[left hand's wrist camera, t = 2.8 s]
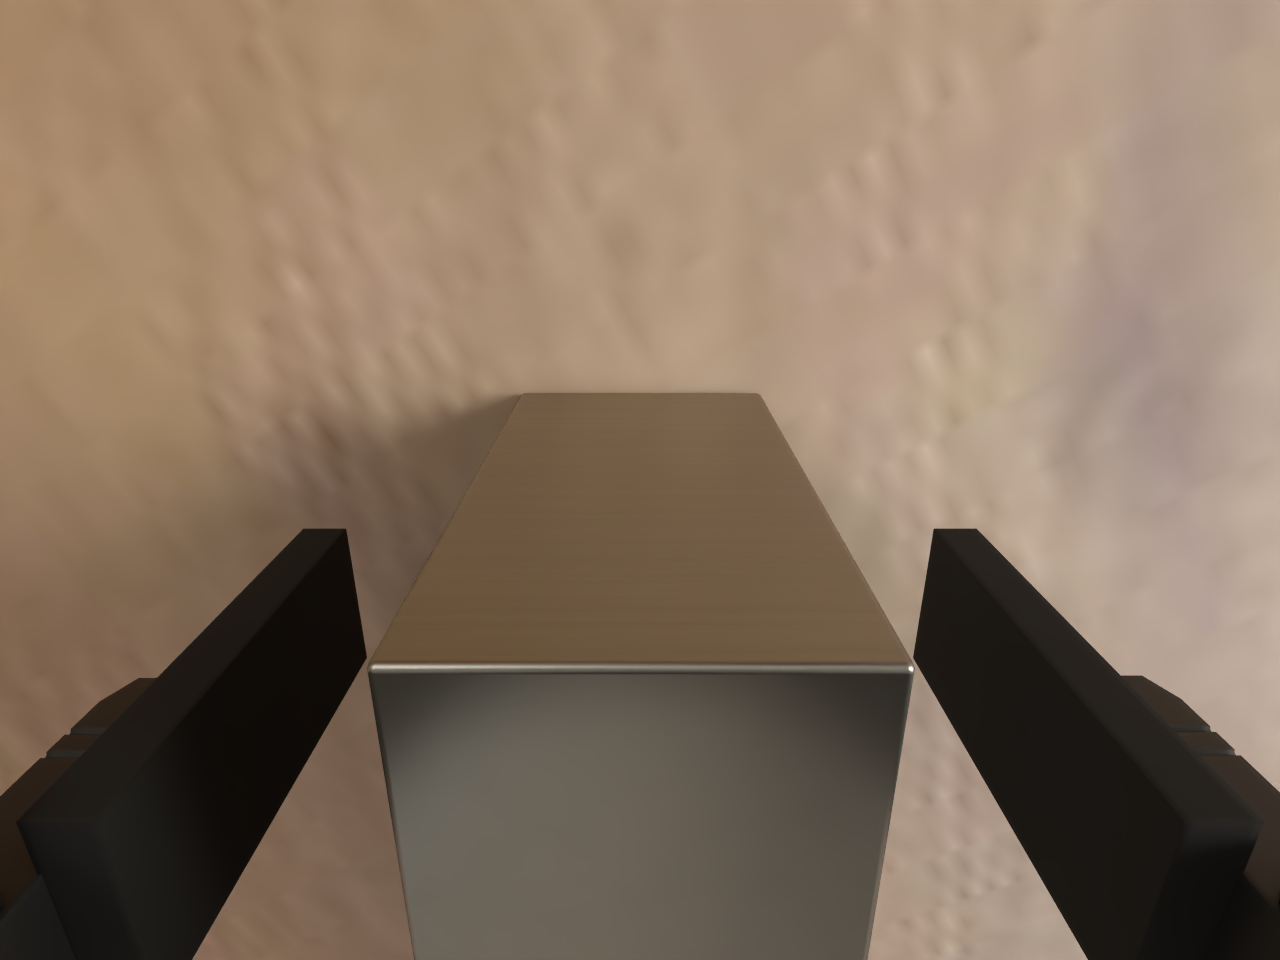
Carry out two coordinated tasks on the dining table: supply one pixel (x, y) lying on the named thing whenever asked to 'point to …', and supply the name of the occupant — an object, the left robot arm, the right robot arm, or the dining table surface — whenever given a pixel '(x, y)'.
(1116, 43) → the dining table surface
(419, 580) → the bar
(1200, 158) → the dining table surface
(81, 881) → the left robot arm
